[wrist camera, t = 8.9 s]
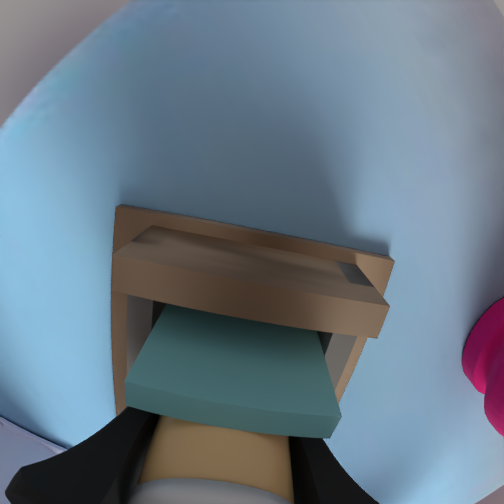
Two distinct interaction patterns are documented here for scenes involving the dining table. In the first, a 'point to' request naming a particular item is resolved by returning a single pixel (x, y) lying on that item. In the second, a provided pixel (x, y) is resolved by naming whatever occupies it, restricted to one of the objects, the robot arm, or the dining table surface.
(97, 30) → the dining table surface
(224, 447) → the jar
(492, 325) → the pepper mill
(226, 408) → the pusher
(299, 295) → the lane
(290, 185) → the dining table surface
